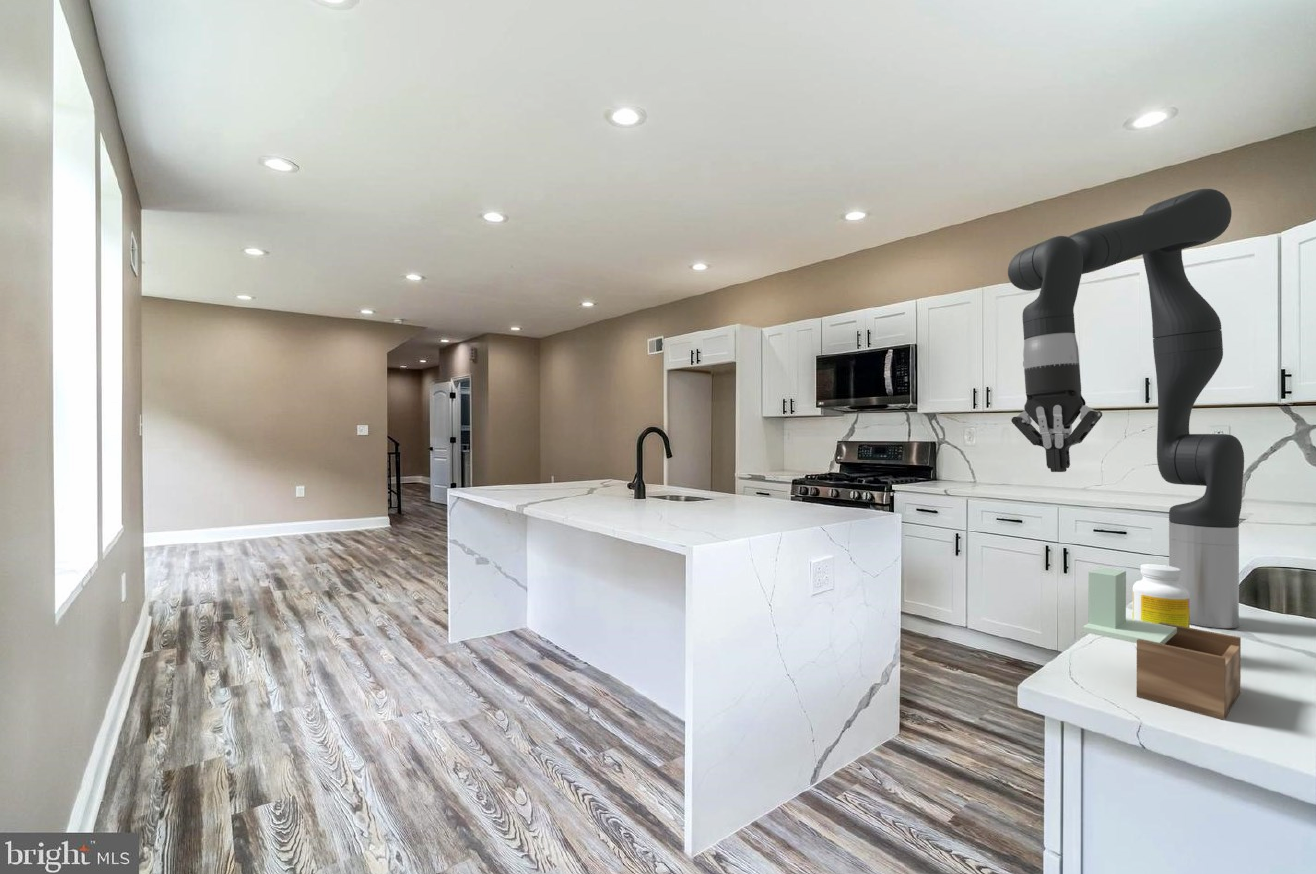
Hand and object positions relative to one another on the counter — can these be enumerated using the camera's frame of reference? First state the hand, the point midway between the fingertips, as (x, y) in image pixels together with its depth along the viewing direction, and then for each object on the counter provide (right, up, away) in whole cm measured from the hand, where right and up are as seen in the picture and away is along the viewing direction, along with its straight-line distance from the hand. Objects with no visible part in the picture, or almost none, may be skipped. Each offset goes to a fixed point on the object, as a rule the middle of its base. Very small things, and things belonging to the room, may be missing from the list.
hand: (1058, 471), depth 97 cm
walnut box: (+2, -27, -21) cm, 34 cm away
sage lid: (-2, -21, -17) cm, 26 cm away
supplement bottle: (+11, -27, -6) cm, 30 cm away
